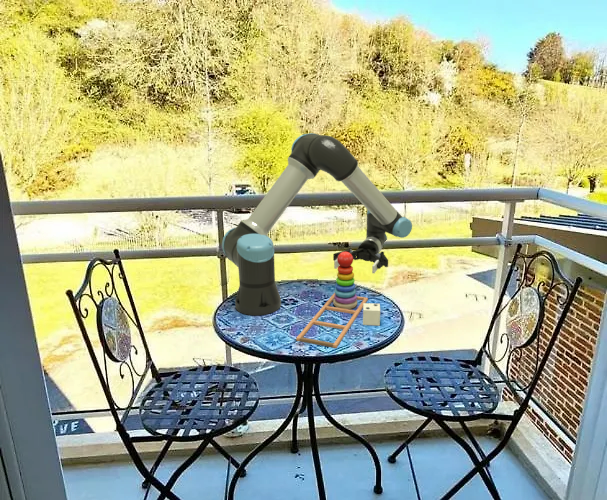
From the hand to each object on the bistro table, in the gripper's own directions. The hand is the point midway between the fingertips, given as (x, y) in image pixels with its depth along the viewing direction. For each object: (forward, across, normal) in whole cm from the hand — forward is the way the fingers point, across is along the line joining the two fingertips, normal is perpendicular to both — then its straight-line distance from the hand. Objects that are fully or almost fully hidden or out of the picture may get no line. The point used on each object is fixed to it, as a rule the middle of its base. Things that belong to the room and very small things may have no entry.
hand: (354, 267), depth 158 cm
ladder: (+20, 0, -10) cm, 22 cm away
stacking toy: (+10, 0, -10) cm, 14 cm away
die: (+18, -11, -10) cm, 23 cm away
